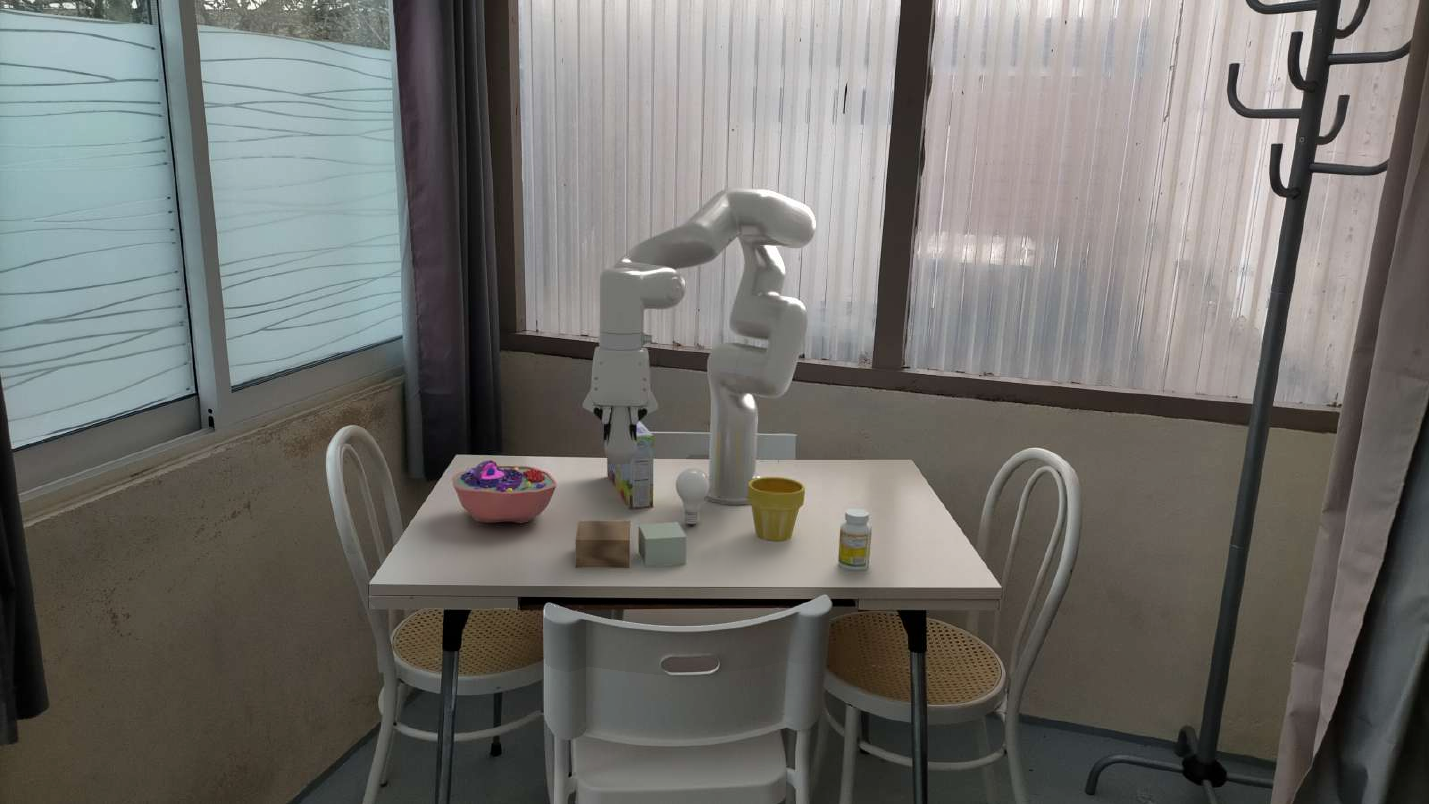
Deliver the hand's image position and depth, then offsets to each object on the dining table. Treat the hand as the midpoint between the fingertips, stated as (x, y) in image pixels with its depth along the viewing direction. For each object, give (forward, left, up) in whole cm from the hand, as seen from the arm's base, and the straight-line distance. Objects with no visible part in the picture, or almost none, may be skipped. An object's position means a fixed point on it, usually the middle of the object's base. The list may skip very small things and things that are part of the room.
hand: (620, 443), depth 179 cm
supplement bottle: (-41, +11, -19) cm, 46 cm away
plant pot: (-29, -3, -19) cm, 34 cm away
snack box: (-2, -27, -19) cm, 33 cm away
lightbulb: (-14, -8, -18) cm, 24 cm away
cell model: (+21, -10, -19) cm, 30 cm away
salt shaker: (0, 0, -3) cm, 3 cm away
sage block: (-8, +8, -18) cm, 21 cm away
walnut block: (+2, +8, -18) cm, 20 cm away
